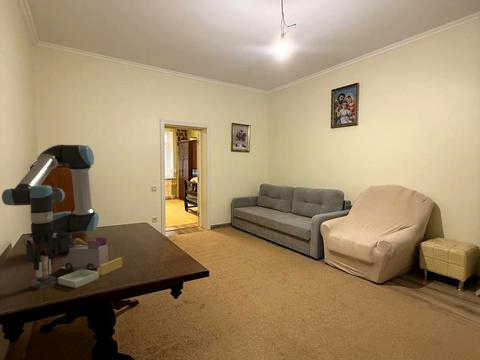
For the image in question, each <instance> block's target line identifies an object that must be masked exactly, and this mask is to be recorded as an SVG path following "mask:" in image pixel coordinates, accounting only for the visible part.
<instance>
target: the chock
mask: <svg viewBox="0 0 480 360" xmlns="http://www.w3.org/2000/svg"><path fill="white" fill-rule="evenodd" d="M121 267H123V257H118V258H115V259H112V260H109V262H107V263H105V264H102V265H100V267H99V268H97V272H99V275H100V276H104V275H106V274H109V273H110V272H113V271H115V270H118V269H120V268H121Z"/></svg>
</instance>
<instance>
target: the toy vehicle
mask: <svg viewBox="0 0 480 360" xmlns="http://www.w3.org/2000/svg"><path fill="white" fill-rule="evenodd" d="M94 239H95V240H87V242H85V241H84V240H82V239H81V238H78V237H77V238H74V239H73V241H74V244H75V246H72V245H69V247H71V248H69V251H68V253H67V256H65V257H64V258H62V259H61V261H62V262H61V263H62V264H61V267H65V268H66V269H67V271H72V270H71V269H73V267H87V269H88V270H90V271H92V270H96V269H97V268H99V267H100V265H102V264H105V263H107V262H110V260H109V247H108V246H109V244H108V243H107V240H108V238H107V237H102V236H100V237H95V238H94ZM61 267H60V268H61ZM66 269H65V270H66Z"/></svg>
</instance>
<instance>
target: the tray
mask: <svg viewBox="0 0 480 360" xmlns="http://www.w3.org/2000/svg"><path fill="white" fill-rule="evenodd" d="M99 278H100V276H99V272H95V271H90V270H86V269H80V270H77V271H73V272H70V273H67V274H64V275H62V276H60V277H58V278H57V283H58V285H62V286H65V287H69V288H73V289H77V288H79V287H82V286H84V285H87V284H89V283H90V282H93V281H95V280H97V279H99Z"/></svg>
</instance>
